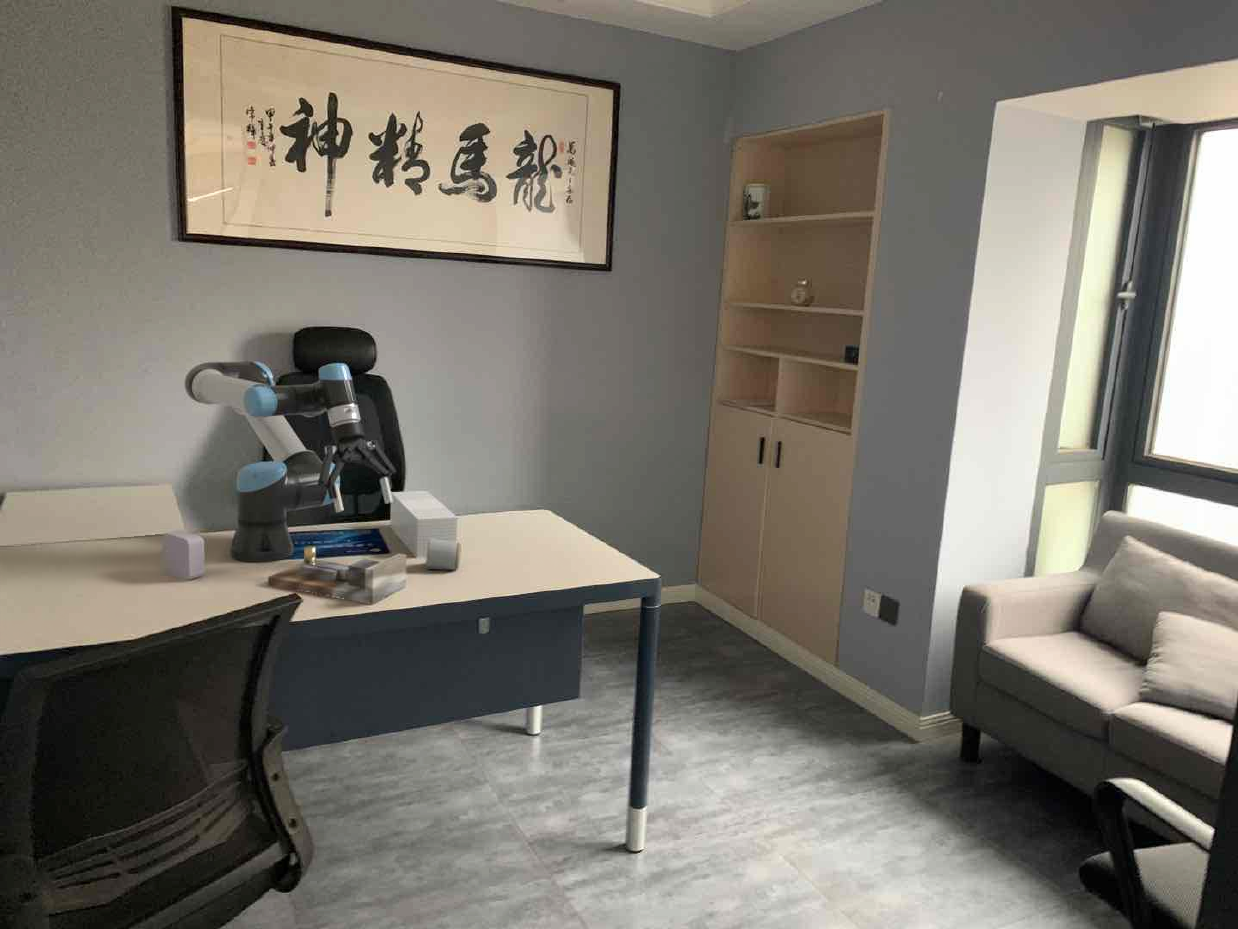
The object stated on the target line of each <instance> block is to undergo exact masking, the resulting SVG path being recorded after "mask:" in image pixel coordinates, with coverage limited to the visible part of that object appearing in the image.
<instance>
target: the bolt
mask: <svg viewBox="0 0 1238 929" xmlns="http://www.w3.org/2000/svg"><path fill="white" fill-rule="evenodd" d="M316 548H317V547H316V546H314V545H305V546H304V548H303V557H304V558H303V561H302V562H301V563H302V566H303V565H310V566H315V567H321V568H326V569H332V570H338V579H342V580H347V579H348V572H349V567H346V566H340V565H335V564H329V563H323V562H318V561H316V560H317V559H316V558H317V549H316Z"/></svg>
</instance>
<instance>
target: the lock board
mask: <svg viewBox="0 0 1238 929" xmlns="http://www.w3.org/2000/svg"><path fill="white" fill-rule="evenodd" d="M316 561H318V562H323V563H329V564H335V565H340V566H346V567H349V572H348V579H347V580H342V579H338V570H332V569H326V568H321V567H315V566H310V565H303V566H302V562H301V563H299V564H296V565H294V566H292V567H289V568H286V569H284V570H282V571H279V572H277V573H275V574H272V575H270V576H268V577H267V585H268V586H272V587H277V588H281V589H282V588H283V589H288V590H292V589H293V590H292V591H297V590H299V592H302V591H309V592H313V593H317V594H316V595H318V594H322V595H321V596H324V595H329V596H334V597H339V598H338V599H340V598H344V599H343V600H345V599H348V600H347V601H350V600H352V601H351V602H356V601H361V602H364V603H363V604H366V603H370V604H369V605H372V604H373V605H375V604H377V603H378V602H377V601H379V602H381V601H382V600H384V599H386V598H387V597H386V596H388V595H390V596H391V594H392V593H393V594H395V593H397V592H398V591H397V590H399V589H401V590H403V589H405V588H406V587H405V586H406V583H407V554H403V553H397V554H395V555H393V556H390V557H389V558H387V559H384V560H382V561H378V560H372V559H366V558H363V559H361V560H359V561H356V562H354V563H352V564H344V563H339V562H332V561H326V560H321V559H316ZM404 587H405V588H404ZM402 588H403V589H402ZM301 590H302V591H301ZM396 591H397V592H396ZM399 591H400V590H399ZM394 592H395V593H394ZM313 593H312V594H313ZM393 594H392V595H393ZM329 596H328V597H329ZM334 597H333V598H334ZM385 597H386V598H385ZM388 597H389V596H388ZM383 598H384V599H383ZM361 602H360V603H361ZM376 602H377V603H376ZM374 603H375V604H374Z"/></svg>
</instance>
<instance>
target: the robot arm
mask: <svg viewBox="0 0 1238 929" xmlns="http://www.w3.org/2000/svg"><path fill="white" fill-rule="evenodd" d="M317 372H318V379H319V380H318V381H315V382H314V383H311V384H310V383H309V384H290V385H276V383H275V381H274V380H273V379H274V375H273V373H272V371H271V370H270V368H269V367H268V366H267V365H265V364H264V363H262V362H259V361H251V360H244V361H216V362H215V361H209V362H203V363H200V364H197V365H196V366H193V367H192V368H191V369H190V370H189V371H188V372H187V374H186V375H185V378H184V389H185V392H186V394H187V396H188V397H189V398H190V399H191V400H193V401H195V402H197V403H200V404H204V405H208V406H209V405H217V404H218V405H223V406H229V407H232V409H233V410H234V411H235V413H237V414H239V415H241V416H245V418H246V420H247V421H248V423H249V424H250V426H251V428H252V429H253V431H254V432H255V433H256V435H257V436H258V438H259V439H260V441H261V442H262V444H263V446H264V447H265V449H266V451H267V452H268V454H269V455H270V457H271V458H272V459H273V461H272V460H270V461H260V462H254V463H251V464H248V465H245V466H243V467H242V468H241V469H240V470H239V471H238V473H237V478H236V486H235V488H236V509H237V510H236V512H237V516H236V517H237V524H236V529H235V532H234V535H233V538H232V541H231V542H232V543H231V544H230V557H231V558H233V559H234V560H238V561H241V562H248V563H263V562H264V563H266V562H267V563H269V562H275V561H281V560H283V559H287V558H289V557H291V556H292V555H294V543H293V541H292V539H291V535H290V532H289V529H288V525H287V512H291V511H297V510H302V509H310V508H311V509H312V508H315V507H317V508H321V507H322V506H327V505H331V504H332V503H333V504H334V508H335V513H340V512H342V511H344V510H345V509H344V506H343V505H344V504H343V500H342V496H341V492H340V491H341V490H340V487H341V476H340V473H341V471H342V470H343V468H344V465H345V464H346V462H347V463H350V462H359V461H362V462H364V463H365V464H366V465H368V466H369V467H370V468H371V469H372V470H373V471H374V472H375V473H377V474H378V475H379V476H380V477H381V478H380V479H379V482H380V486H381V492H382V496H383V500H384V504H386V505H387V504H391V502H393V499H392V495H391V492H392V491H391V490H392V489H393V484H392V483H393V482H392V479H391V476H392V475H394V474H395V473H396V472H397V470H396V469H395V466H394V465H393V464H392V462H391V461H390V459H389V458H388V456H387V455H386V454H385V453H384V452H383V450H382V449H381V447H380V445H379V442H378V440H377V439H373V440H371V441H366V439H365V432H364V427H363V423H362V422H361V414H360V411H359V407H358V406H359V405H358V401H357V395H356V393H355V387H354V383H353V376H351V372H350V368H349V366H348V365H347V364H346V363H343V362H339V363H338V362H336V363H335V362H334V363H329V364H326V365H322V366H321V367H320V368H318V371H317ZM325 412H327V416H328V421H329V426H330V427H332V428H331V433H332V438H333V441H334V444H335V445H331V444H329V445H327V446H324V447H323V459H322V460H321V459H320V458H319V456H318V454H317V453H316V452H315V451H313V450H309V449H307V448H306V447H305V446H304V444H303V442H302V441H301V440H300V438H299V437H298V435H297V434H296V432H295V431H294V429H293V427H292V426H291V425H290V424H289V422H288V420H287V419H286V417H285V416H295V415H296V416H297V415H298V416H299V415H301V416H303V417H306V418H313V417H317V416H320V415H322V414H324V413H325ZM368 450H370V451H371V453H372V454H371V453H370V452H369V451H368ZM335 452H336V454H337V455H338V458H337V460H336V462H335V463H333V458H334V454H335ZM372 455H373V456H374V457H375V458H374V457H373V456H372Z"/></svg>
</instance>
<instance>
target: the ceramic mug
mask: <svg viewBox="0 0 1238 929" xmlns="http://www.w3.org/2000/svg"><path fill="white" fill-rule="evenodd" d="M461 549H462V545H461V543H459V542H457V541H456V542H454V541H445V540H438V539H430V540H429V543H428V549H427V557H426V561H425V562H426V565H425V566H426V569H427V570H447V571H449V570H450V571H455V570H458V568H459V566H460V561H461V555H462V554H461V553H462V550H461Z"/></svg>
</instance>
